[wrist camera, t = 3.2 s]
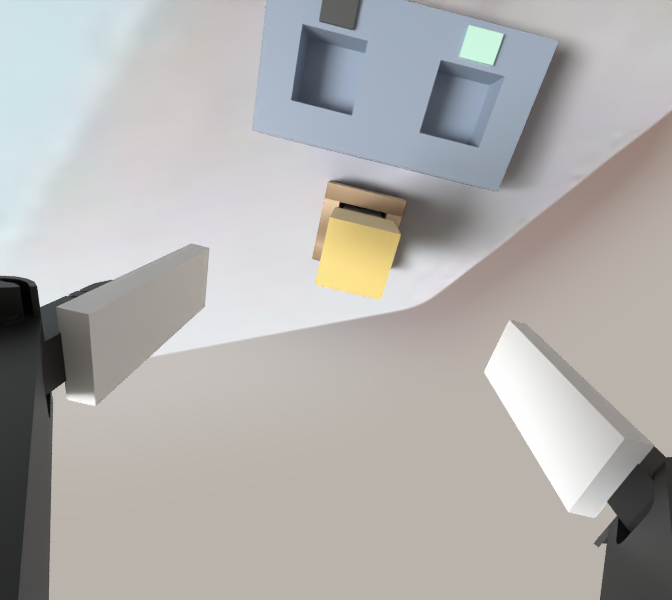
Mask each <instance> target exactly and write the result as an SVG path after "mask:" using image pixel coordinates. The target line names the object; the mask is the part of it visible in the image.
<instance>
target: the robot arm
mask: <svg viewBox="0 0 672 600" xmlns="http://www.w3.org/2000/svg"><path fill="white" fill-rule="evenodd" d="M208 257H209V248H207V247H203V246H199V245H194V244H190V245H187V246H185V247H183V248H181V249H179V250H177V251H175V252H173V253H170V254H168V255H166V256H164V257H162V258H160V259H158V260H155V261H153V262H151V263H149V264H147V265H145V266H143V267H140V268H138V269H136V270H134V271H132V272H130V273H128V274H125V275H123V276H121V277H119V278H117V279H115V280H108V281H104V282H99V283H94V284H92V285H89V286H87V287H85V288H83V289H80V291H76V292H74V293H71V294H69V296H65V297H62V298H60V299H58V300H56V301H53V302H51V303H49V304H47V305H44V306H42V307H40V304H39V297H38V290H37V285H36V284H35V282H33V281H31V280H29V279H26V278H21V277H14V276H0V600H49V561H50V514H51V469H52V424H53V423H52V422H53V398H52V391H53V390H54V389H55V388H57V387H58V386H59V385H61V384H62V383H63V382H65V387H66V395H67V400H71V401H76V402H80V403H85V404H89V405H94V406H96V405H97V404H98V403H99V402H101V400H103V399H104V398H105V397H106V396H107V395H108V394H109V393H110V392H111V391H113V390H114V389H115V388H116V387H117V386H118V385H119V384H120V383H121V382H122V381H124V380H125V378H127V377H128V376H129V375H130V374H131V373H132V372H133V371H134V370H136V369H137V368H138V367H139V366H140V365H141V364H142V363H143V362H144V361H145V360H147V359H148V358H149V357H150V356H151V355H152V354H153V353H154V352H155V351H156V350H158V349H159V348H160V347H161V346H162V345H163V344H164V343H165V342H166V341H167V340H168V339H170V338H171V337H172V336H173V335H174V334H175V333H176V332H177V331H178V330H179V329H181V328H182V327H183V326H184V325H185V324H186V323H187V322H188V321H189V320H190V319H191V318H193V317H194V316H195V315H196V314H197V313H198V312H199V311H200V310H201V309H202V308H204V307H205V296H206V283H207V270H208ZM484 373H485V375H486V376H487V378H488V380H489V381H490V383H491V384H492V386H493V388H494V389H495V391H496V393H497V394H498V396H499V398H500V399H501V401H502V403H503V404H504V406H505V408H506V409H507V411H508V412H509V414H510V416H511V417H512V419H513V421H514V423H515V424H516V426H517V428H518V429H519V431H520V433H521V434H522V436H523V438H524V439H525V441H526V442H527V444H528V446H529V447H530V449H531V451H532V452H533V454H534V456H535V457H536V459H537V461H538V462H539V464H540V466H541V467H542V469H543V470H544V472H545V474H546V476H547V477H548V479H549V480H550V482H551V484H552V486H553V487H554V489H555V490H556V492H557V494H558V496H559V497H560V499H561V501H562V502H563V504H564V505H565V507H566V509H567V510H568V512H570V513H574V514H579V515H583V516H588V517H592V518H595V517H596V516H597V515H598V514H599V513H600V511H601V510H602V509H603V508H604V507H605V505H606V504H607V503H609V505H610V506H611V508H612V509H613V510H614V512H615V513H616V514H617V517H616V518H615V519H614V520H613V521H612V522H611V523H610V525H609V526H608V527H607V528H606V529H605V530H604V532H603V533H602V534H601V535H600V536H599V537H598V539H597V540H596V541H595V543H594V544H595V545H597V546H598V547H599V546H600V545H601V544H602V543H607V547H606V556H605V563H604V571H603V579H602V588H601V597H600V600H672V457H667V458H666V457H665V456H664V455H663V454H662V453H661V452H660V451H659V450H658V449H657V448H655V447H654V445H653V444H652V443H651V442H650V441H649V440H648V439H647V438H646V437H645V436H644V435H643V434H642V433H641V432H640V431H639V430H638V429H637V428H635V427H634V426H633V425H632V424H631V423H630V422H629V421H628V420H627V419H626V418H625V417H624V416H623V415H622V414H621V413H620V412H619V411H617V410H616V409H615V408H614V407H613V406H612V405H611V404H610V403H609V402H608V401H607V400H606V399H605V398H604V397H603V396H602V395H601V394H600V393H599V392H597V390H595V389H594V388H593V387H592V386H591V385H590V384H589V383H588V382H587V381H586V380H585V379H584V378H583V377H582V376H581V375H579V374H578V372H576V371H575V370H574V369H573V368H572V367H571V366H570V365H569V364H568V363H567V362H566V361H565V360H564V359H563V358H562V357H561V356H560V355H559V354H558V353H557V352H555V351H554V350H553V349H552V348H551V347H550V346H549V345H548V344H547V343H546V342H545V341H544V340H543V339H542V338H541V337H540V336H539V335H537V334H536V333H535V332H534V331H533V330H532V329H531V328H530V327H529V326H528V325H527V324H525V323H520V322H516V321H512V320H509V322H508V324H507V326H506V328H505V330H504V332H503V334H502V336H501V338H500V340H499V342H498V344H497V346H496V348H495V350H494V353H493V354H492V356H491V359H490V361H489V363H488V365H487V367H486V369H485V371H484Z"/></svg>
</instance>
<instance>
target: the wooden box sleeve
mask: <svg viewBox="0 0 672 600" xmlns="http://www.w3.org/2000/svg"><path fill="white" fill-rule="evenodd" d="M340 202H343V203H347V204H351V205H355V206H359V207H363V208H367V209H371V210H375V211H379V212H383V213H384V216H383V219H387V220H391V221H394V223H395V225H396V226H397V228H398V229H399V226H400V222H401V219H402V216H403V213H404V209H405V206H406V203H407V201H406V200H404V199H403V198H399V197H395V196H391V195H386V194H382V193H378V192H374V191H370V190H366V189H362V188H358V187H354V186H350V185H346V184H342V183H338V182H334V181H329V182H328V185H327V189H326V194H325V199H324V204H323V209H322V214H321V219H320V223H319V228H318V233H317V238H316V243H315V248H314V252H313V257H312V259H315V260H319V261H320V259H321V255H322V250H323V245H324V241H325V236H326V232H327V227H328V222H329V218H330V216H331V214H332V212H333V210H334V208H335V207H338V208H339V206H340Z"/></svg>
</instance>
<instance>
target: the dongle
mask: <svg viewBox="0 0 672 600" xmlns="http://www.w3.org/2000/svg"><path fill="white" fill-rule="evenodd" d="M400 237H401V233H400V232H399V230H398V228H397V226H396V225H395V223H394V221H391V220H387V219H383V218H382V217H381V214H380V213H379V212H374V211H370V210H366V209H362V208H358V207H354V206H350V205H346V204H344V206H343V209H342V208H338V207H335V208H334V210H333V212H332V214H331V216H330V218H329V222H328V227H327V232H326V236H325V241H324V245H323V250H322V255H321V259H320V264H319V268H318V273H317V278H316V282H315V285H320V286H324V287H328V288H332V289H336V290H340V291H345V292H349V293H353V294H357V295H361V296H366V297H370V298H374V299H378V300H381V298H382V295H383V292H384V288H385V285H386V282H387V279H388V275H389V272H390V269H391V266H392V263H393V259H394V256H395V253H396V250H397V246H398V243H399V240H400Z"/></svg>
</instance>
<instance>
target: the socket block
mask: <svg viewBox="0 0 672 600" xmlns="http://www.w3.org/2000/svg"><path fill="white" fill-rule="evenodd" d="M558 42H559V41H558V40H554V39H550V38H547V37H543V36H539V35H535V34H531V33H528V32H524V31H520V30H516V29H512V28H509V27H505V26H501V25H497V24H493V23H490V22H486V21H482V20H478V19H474V18H471V17H467V16H463V15H459V14H455V13H452V12H448V11H444V10H440V9H436V8H433V7H429V6H425V5H421V4H418V3H414V2H410V1H406V0H267V2H266V11H265V20H264V29H263V38H262V47H261V56H260V65H259V74H258V83H257V92H256V100H255V109H254V118H253V127H252V130H253V131H257V132H260V133H263V134H267V135H271V136H275V137H279V138H283V139H287V140H291V141H295V142H299V143H303V144H307V145H311V146H315V147H319V148H323V149H327V150H331V151H335V152H339V153H343V154H347V155H351V156H355V157H359V158H363V159H367V160H371V161H375V162H379V163H383V164H387V165H391V166H395V167H399V168H403V169H407V170H411V171H415V172H419V173H423V174H427V175H431V176H435V177H439V178H443V179H447V180H451V181H455V182H459V183H463V184H467V185H471V186H475V187H479V188H484V189H488V190H493V191H498V190H499V187H500V185H501V182H502V180H503V177H504V175H505V172H506V170H507V167H508V165H509V163H510V160H511V158H512V155H513V153H514V150H515V148H516V145H517V143H518V140H519V138H520V135H521V133H522V131H523V128H524V126H525V123H526V121H527V118H528V116H529V113H530V111H531V108H532V106H533V103H534V101H535V99H536V96H537V94H538V91H539V89H540V86H541V84H542V81H543V79H544V76H545V74H546V71H547V69H548V67H549V64H550V62H551V59H552V57H553V54H554V52H555V49H556V47H557V44H558Z"/></svg>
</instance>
